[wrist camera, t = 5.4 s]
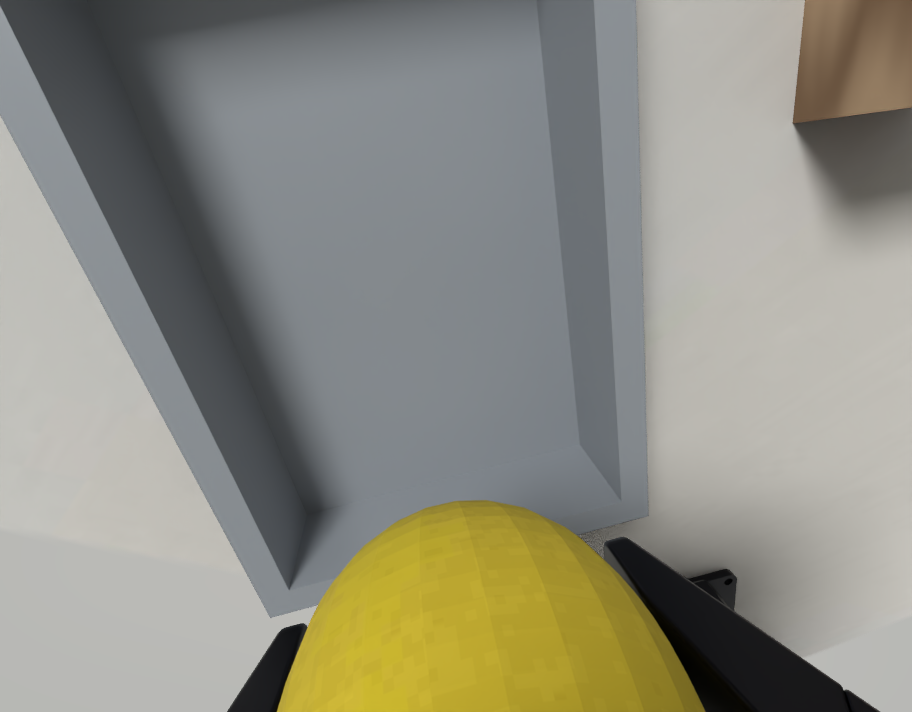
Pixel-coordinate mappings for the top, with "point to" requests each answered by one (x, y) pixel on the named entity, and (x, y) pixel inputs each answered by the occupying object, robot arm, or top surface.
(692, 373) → the top surface
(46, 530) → the top surface
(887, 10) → the walnut cube
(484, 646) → the lemon
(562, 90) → the tote
